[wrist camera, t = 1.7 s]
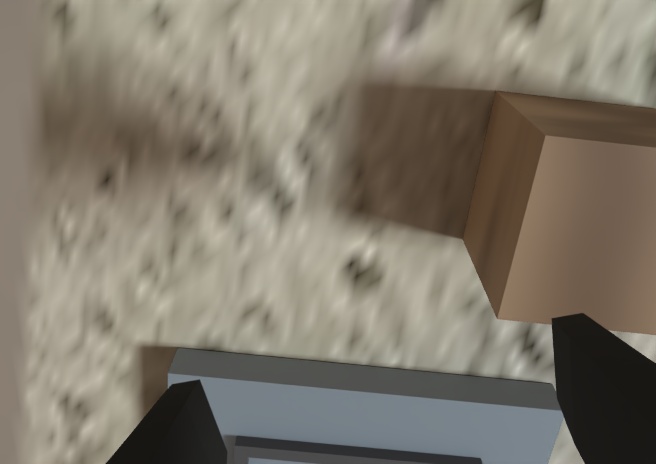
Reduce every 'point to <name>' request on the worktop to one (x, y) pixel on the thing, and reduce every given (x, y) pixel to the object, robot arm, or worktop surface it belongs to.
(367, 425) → the slate base plate
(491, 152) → the walnut block
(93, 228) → the worktop surface
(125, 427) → the worktop surface
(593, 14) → the worktop surface
